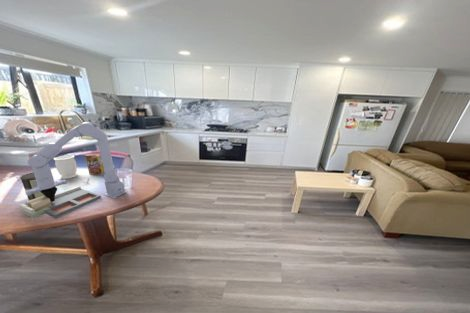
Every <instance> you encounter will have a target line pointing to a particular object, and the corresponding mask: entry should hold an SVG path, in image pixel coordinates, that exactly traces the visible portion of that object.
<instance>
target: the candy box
mask: <svg viewBox="0 0 470 313" xmlns="http://www.w3.org/2000/svg"><path fill="white" fill-rule="evenodd" d="M84 158H85V161H86V166H87V170H88V173H89V175H104V174H105V172H104V166H103V161H102V157H101V153H98V154H97V153H95V154H94V153H93V154H92V153H88V154H86V155H85V156H84Z"/></svg>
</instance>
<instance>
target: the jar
mask: <svg viewBox="0 0 470 313" xmlns="http://www.w3.org/2000/svg"><path fill="white" fill-rule="evenodd" d="M53 160H54V162H55V163H54V164H55V168H56V171H57V172H58V174H59V175H60V176H61V177H60V178H61V179H62V180H65V179H66V180H68V179H71V178H72V179H73V178H75V177H76V176H78V173H77V162H76V159H75V155H74V154H67V155H66V154H65V155H60V156H59V155H58V156H55V157H54V158H53Z"/></svg>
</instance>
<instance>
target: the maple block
mask: <svg viewBox="0 0 470 313" xmlns="http://www.w3.org/2000/svg"><path fill="white" fill-rule="evenodd" d="M26 205H28V206H29V207H31V208H33V209H34V210H35V212H36V211H39V210H41V209H44V208H46V207H49V206H51V201H50V199H49V198H47V197H45V196H41V197H38V198H35V199H33V200H30V201H29V200H27V201H26Z"/></svg>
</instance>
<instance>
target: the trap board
mask: <svg viewBox="0 0 470 313" xmlns="http://www.w3.org/2000/svg"><path fill="white" fill-rule="evenodd" d="M101 199H102V196H101V195H100V194H97V193H95V192H91V191H89V190H86V189H83V188H82V187H81V186H80V185H78V186H75V187H72V188H69V189H67V190H64V191H61V192H59V193H56V194H55V201H53V202H51V206H49V207H46V208H44V209H41V210H39V211H36V212H35V210H34V209H33V208H31V207H29V206H28V205H27V204H24V203H21V204H19V206H20V208H21V211H22V214H24V215H27V216H29V217H30V218H32V219H37V218H39V217H41V216H43V215H48V216H50V217H51V218H54V219H56V220H57V219H58V218H60V217H63V216H65V215H68V214H70V213H72V212H74V211H77V210H78V209H81V208H83V207H86V206H88V205H89V204H93V203H95V202H97V201H98V200H101Z"/></svg>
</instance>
